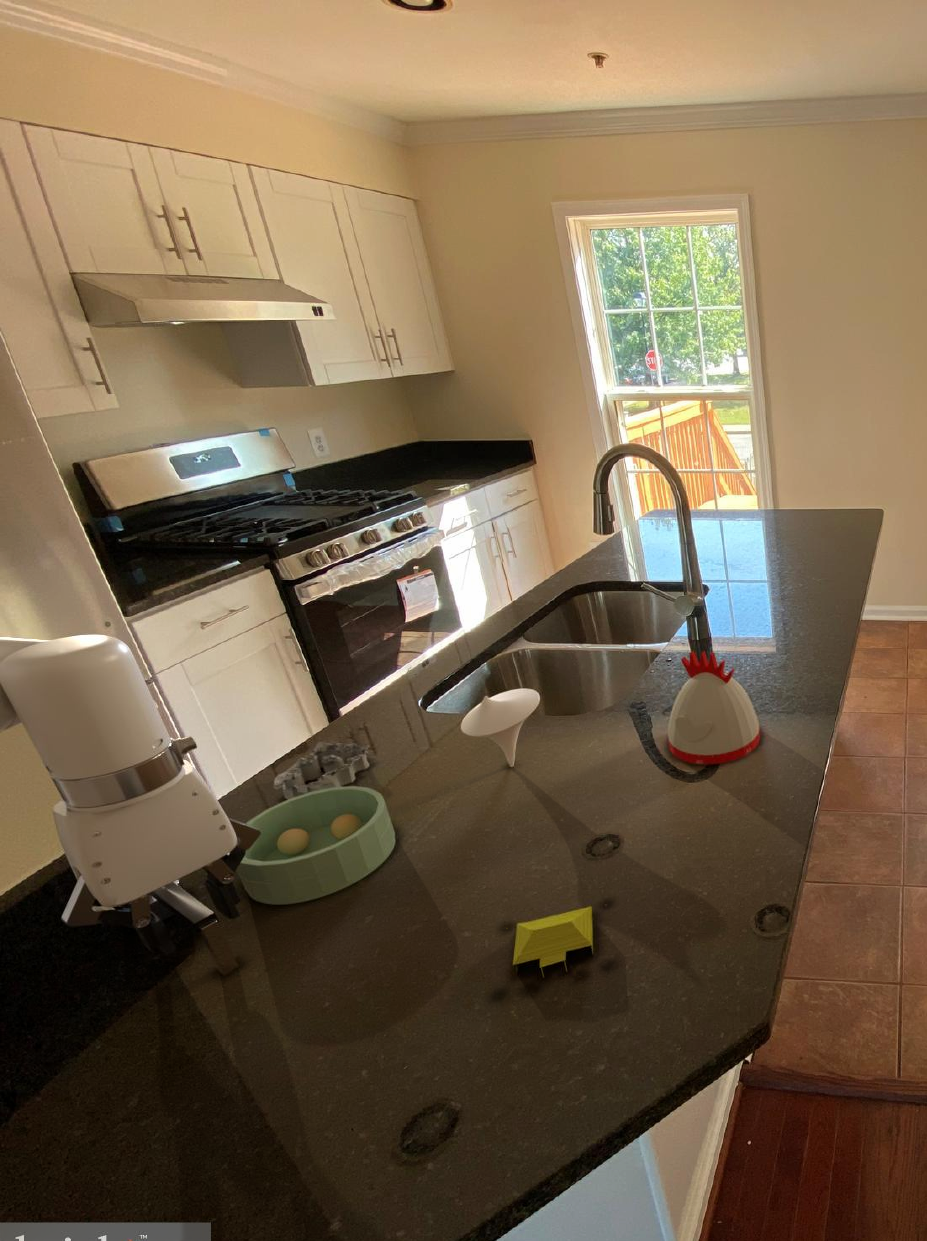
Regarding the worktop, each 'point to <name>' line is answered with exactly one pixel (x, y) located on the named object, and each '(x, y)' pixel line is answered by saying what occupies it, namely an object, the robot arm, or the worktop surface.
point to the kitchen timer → (711, 715)
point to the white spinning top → (501, 718)
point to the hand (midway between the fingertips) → (197, 928)
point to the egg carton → (336, 764)
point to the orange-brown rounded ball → (293, 841)
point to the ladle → (193, 921)
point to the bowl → (316, 846)
